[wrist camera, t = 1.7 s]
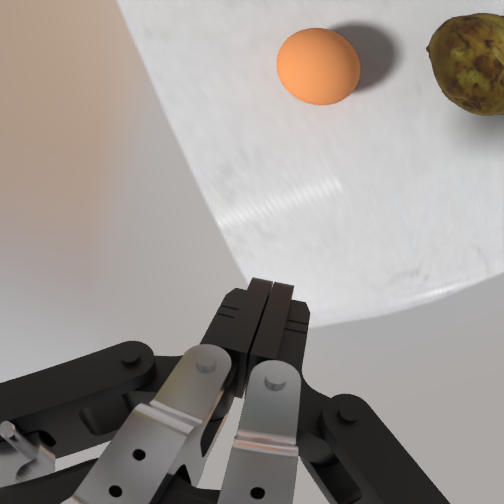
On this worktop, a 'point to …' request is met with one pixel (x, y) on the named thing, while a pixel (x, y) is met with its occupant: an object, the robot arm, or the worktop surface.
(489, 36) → the potato
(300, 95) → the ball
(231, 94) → the worktop surface
